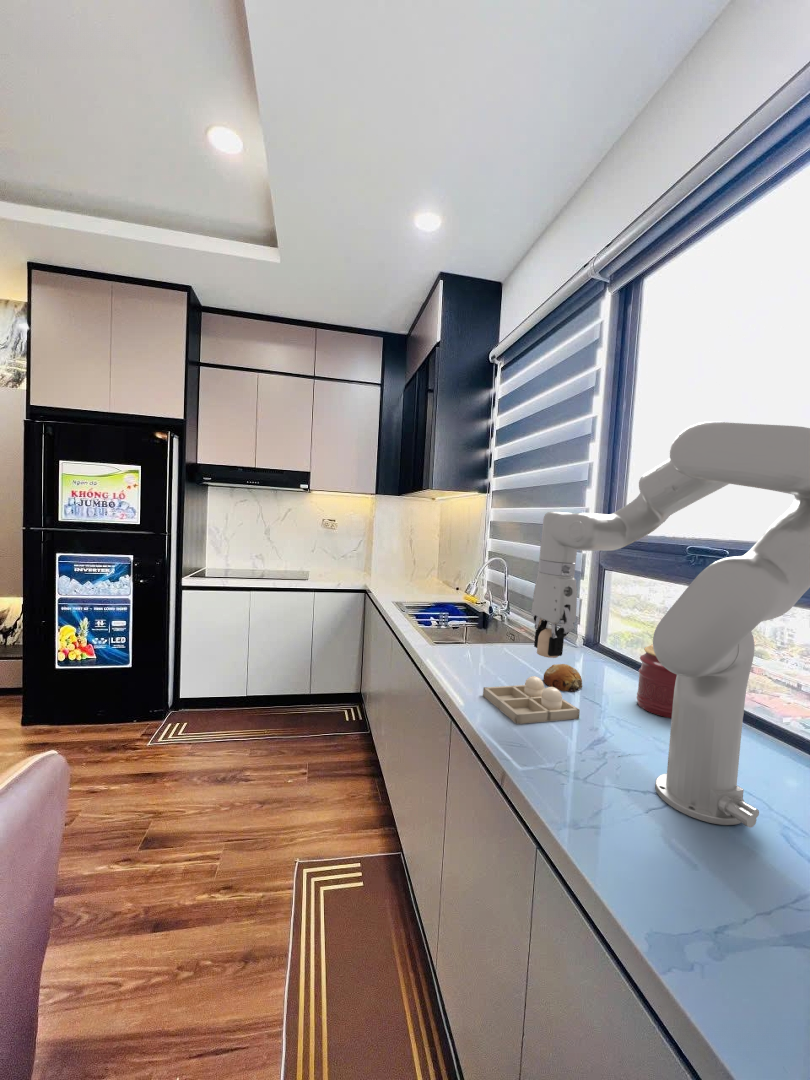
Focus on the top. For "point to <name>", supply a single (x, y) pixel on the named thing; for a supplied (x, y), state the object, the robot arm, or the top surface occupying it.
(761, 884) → the top surface
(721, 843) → the top surface
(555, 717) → the egg tray
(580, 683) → the bread roll
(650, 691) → the canister
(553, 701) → the pale egg
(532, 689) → the pale egg
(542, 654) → the brown egg
